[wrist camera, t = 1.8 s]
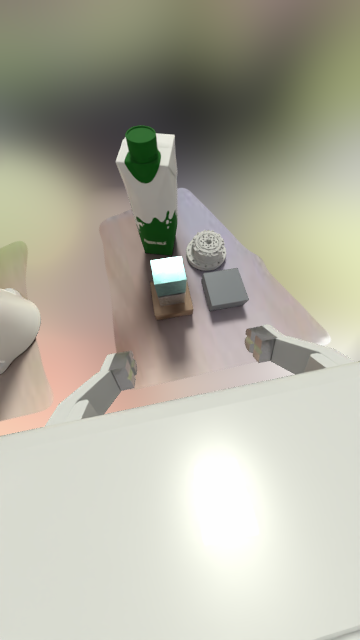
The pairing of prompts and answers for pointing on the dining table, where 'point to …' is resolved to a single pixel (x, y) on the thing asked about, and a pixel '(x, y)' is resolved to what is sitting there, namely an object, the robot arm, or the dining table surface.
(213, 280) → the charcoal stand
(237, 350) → the dining table surface
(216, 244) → the mechanical component
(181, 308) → the walnut stand
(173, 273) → the block
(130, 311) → the dining table surface
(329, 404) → the robot arm
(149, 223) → the milk carton
